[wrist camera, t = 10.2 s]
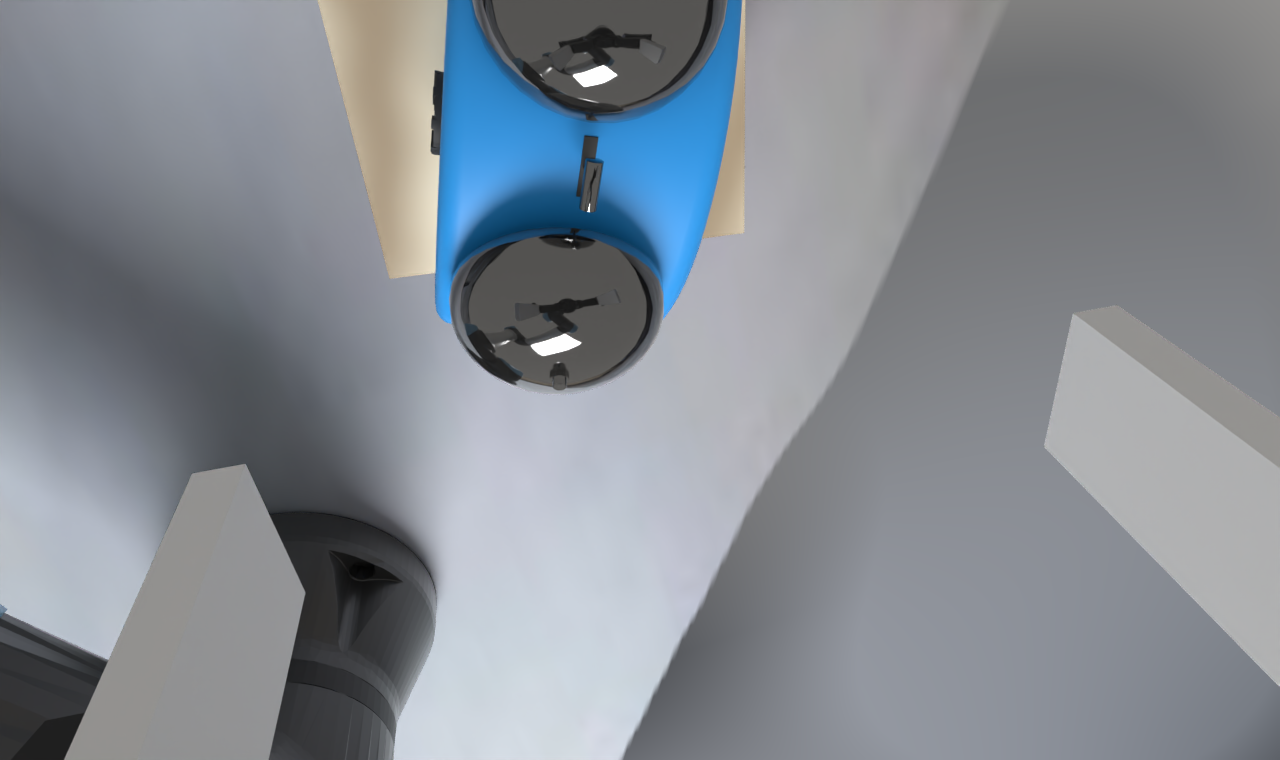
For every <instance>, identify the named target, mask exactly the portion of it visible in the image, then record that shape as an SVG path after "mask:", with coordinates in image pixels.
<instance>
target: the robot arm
mask: <svg viewBox="0 0 1280 760" xmlns="http://www.w3.org/2000/svg"><path fill="white" fill-rule="evenodd" d="M1044 447H1045V448H1046V449H1047V450H1048V451H1049V452H1050V453H1051V454H1052V455H1053V456H1054V457H1055V458H1056V459H1057V460H1058V461H1059V462H1060V463H1061V464H1062V465H1063V466H1064V467H1065V468H1066V469H1067V471H1068V472H1069V473H1070V474H1071V475H1072V476H1074V478H1075V479H1076V480H1077V481H1078V482H1079V483H1080V484H1081V485H1082V486H1084V488H1085V489H1086V490H1087V491H1088V492H1089V493H1090V494H1091V495H1092V496H1093V497H1094V498H1095V499H1096V500H1097V501H1098V502H1099V503H1100V504H1101V505H1102V506H1103V507H1104V508H1105V509H1106V510H1107V511H1108V512H1109V513H1110V514H1111V515H1112V516H1113V517H1114V518H1115V519H1116V521H1117V522H1118V523H1119V524H1121V526H1122V527H1123V528H1124V529H1125V530H1126V531H1127V532H1128V533H1129V534H1130V535H1131V536H1132V537H1133V538H1134V539H1135V540H1136V541H1137V542H1138V543H1139V544H1140V545H1141V546H1142V547H1143V548H1144V549H1145V550H1146V551H1147V552H1148V553H1149V554H1150V555H1151V556H1152V557H1153V558H1154V559H1155V560H1156V561H1157V562H1158V563H1159V564H1160V565H1161V566H1162V567H1163V568H1164V569H1165V570H1166V572H1168V574H1170V575H1171V577H1172V578H1173V579H1174V580H1175V581H1176V582H1177V583H1178V584H1179V585H1180V586H1181V587H1182V588H1183V589H1184V590H1185V591H1186V592H1187V593H1188V594H1189V595H1190V596H1191V597H1192V598H1193V599H1194V600H1195V601H1196V602H1197V603H1198V604H1199V605H1200V606H1201V607H1202V608H1203V609H1204V610H1205V611H1206V612H1207V613H1208V614H1209V615H1210V616H1211V617H1212V618H1213V619H1214V620H1215V621H1216V622H1217V623H1218V625H1219V626H1220V627H1221V628H1222V629H1224V631H1225V632H1226V633H1227V634H1228V635H1230V636H1231V638H1232V639H1233V640H1234V641H1235V642H1236V643H1237V644H1238V645H1239V646H1240V647H1241V648H1242V649H1243V650H1244V651H1245V652H1246V653H1247V654H1248V655H1249V656H1250V657H1251V658H1252V659H1253V660H1254V661H1255V662H1256V663H1257V664H1258V665H1259V666H1260V667H1261V668H1262V669H1263V670H1264V671H1265V672H1266V673H1267V675H1269V677H1270V678H1271V679H1272V680H1273V681H1274V682H1275V683H1276V684H1277V685H1278V686H1279V687H1280V417H1278V416H1277V415H1276V414H1274V413H1273V412H1271V411H1270V410H1268V409H1267V408H1265V407H1264V406H1262V405H1261V404H1260V403H1258V402H1256V401H1255V400H1254V399H1252V398H1251V397H1249V396H1248V395H1246V394H1245V393H1244V392H1242V391H1241V390H1239V389H1238V388H1236V387H1235V386H1233V385H1232V384H1230V383H1229V382H1228V381H1226V380H1225V379H1223V378H1222V377H1220V376H1219V375H1217V374H1216V373H1214V372H1213V371H1212V370H1210V369H1209V368H1207V367H1206V366H1204V365H1203V364H1201V363H1200V362H1198V361H1197V360H1196V359H1194V358H1193V357H1191V356H1190V355H1188V354H1187V353H1185V352H1184V351H1183V350H1181V349H1180V348H1178V347H1177V346H1175V345H1174V344H1172V343H1171V342H1169V341H1168V340H1167V339H1165V338H1164V337H1162V336H1161V335H1159V334H1158V333H1156V332H1155V331H1153V330H1152V329H1151V328H1149V327H1148V326H1146V325H1145V324H1143V323H1142V322H1140V321H1139V320H1137V319H1136V318H1135V317H1133V316H1132V315H1130V314H1129V313H1127V312H1126V311H1124V310H1123V309H1121V308H1120V307H1119V306H1117V305H1115V306H1111V307H1104V308H1099V309H1093V310H1088V311H1082V312H1077V313H1073V316H1072V321H1071V325H1070V330H1069V334H1068V339H1067V344H1066V348H1065V353H1064V358H1063V362H1062V367H1061V371H1060V376H1059V380H1058V385H1057V389H1056V395H1055V399H1054V403H1053V408H1052V413H1051V417H1050V422H1049V426H1048V431H1047V435H1046V441H1045V445H1044ZM6 610H7V608H5V607H4V606H2V605H0V760H393V758H394V743H395V733H396V726H397V721H398V719H399V717H400V714H401V712H402V710H403V708H404V706H405V704H406V702H407V700H408V698H409V696H410V693H411V691H412V689H413V687H414V685H415V683H416V681H417V679H418V677H419V675H420V672H421V670H422V668H423V666H424V664H425V662H426V660H427V657H428V655H429V653H430V650H431V647H432V644H433V640H434V635H435V623H436V592H435V588H434V585H433V582H432V579H431V577H430V575H429V573H428V571H427V570H426V568H425V567H424V565H423V564H422V562H421V561H420V560H419V559H418V558H417V556H416V555H415V554H414V553H413V552H412V551H410V550H409V549H408V548H407V547H406V546H405V545H403V544H402V543H401V542H399V541H398V540H396V539H395V538H393V537H392V536H390V535H388V534H386V533H384V532H383V531H381V530H378V529H376V528H374V527H372V526H369V525H367V524H364V523H361V522H358V521H355V520H351V519H347V518H343V517H338V516H333V515H326V514H318V513H280V514H272V515H269V513H268V511H267V509H266V507H265V504H264V502H263V500H262V498H261V496H260V494H259V492H258V489H257V487H256V485H255V483H254V481H253V479H252V476H251V474H250V472H249V470H248V468H247V466H246V464H241V465H236V466H230V467H225V468H219V469H214V470H208V471H203V472H197V473H192V475H191V477H190V479H189V481H188V484H187V486H186V488H185V490H184V493H183V495H182V497H181V499H180V502H179V504H178V506H177V508H176V511H175V513H174V515H173V517H172V520H171V522H170V524H169V526H168V528H167V531H166V533H165V535H164V537H163V540H162V542H161V544H160V546H159V549H158V551H157V553H156V555H155V558H154V560H153V562H152V564H151V566H150V569H149V571H148V573H147V575H146V578H145V580H144V582H143V584H142V587H141V589H140V591H139V593H138V596H137V598H136V600H135V602H134V605H133V607H132V609H131V611H130V613H129V616H128V618H127V620H126V622H125V625H124V627H123V629H122V631H121V634H120V636H119V638H118V640H117V643H116V645H115V647H114V649H113V651H112V654H111V656H110V658H109V660H107V659H105V658H103V657H100V656H98V655H96V654H94V653H91V652H89V651H87V650H85V649H83V648H80V647H78V646H76V645H74V644H72V643H69V642H67V641H65V640H63V639H61V638H58V637H56V636H54V635H52V634H50V633H47V632H45V631H43V630H41V629H39V628H36V627H34V626H32V625H30V624H28V623H25V622H23V621H21V620H19V619H17V618H14V617H12V616H10V615H8V614H6V613H5V611H6Z"/></svg>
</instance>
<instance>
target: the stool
mask: <svg viewBox="0 0 1280 760" xmlns="http://www.w3.org/2000/svg"><path fill="white" fill-rule="evenodd" d="M447 1H448V0H318V4H319V8H320V11H321V15H322V19H323V23H324V27H325V31H326V35H327V39H328V42H329V46H330V50H331V54H332V58H333V62H334V66H335V69H336V73H337V77H338V81H339V85H340V89H341V93H342V97H343V100H344V104H345V108H346V112H347V116H348V120H349V124H350V127H351V131H352V135H353V139H354V143H355V147H356V151H357V155H358V158H359V162H360V166H361V170H362V174H363V178H364V182H365V185H366V189H367V193H368V197H369V201H370V205H371V209H372V213H373V216H374V220H375V224H376V228H377V232H378V236H379V240H380V243H381V247H382V251H383V255H384V259H385V263H386V267H387V271H388V274H389V278H390V279H392V278H400V277H408V276H415V275H423V274H431V273H435V269H436V235H437V208H438V183H439V160H440V155H433V154H431V134H432V130H433V129H431V119H432V115H433V116H434V112H435V111H434V105H433V86H434V74H435V70H437V71H441V72H444V56H445V37H446V19H447ZM744 150H745V0H742V11H741V27H740V39H739V49H738V60H737V68H736V76H735V85H734V92H733V99H732V106H731V112H730V119H729V125H728V130H727V136H726V142H725V147H724V152H723V157H722V162H721V167H720V171H719V176H718V181H717V185H716V189H715V193H714V197H713V201H712V205H711V209H710V212H709V216H708V220H707V223H706V227H705V230H704V233H703V236H702V238H709V237H717V236H725V235H732V234H740V233H744Z"/></svg>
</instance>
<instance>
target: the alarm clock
mask: <svg viewBox="0 0 1280 760" xmlns="http://www.w3.org/2000/svg"><path fill="white" fill-rule="evenodd" d="M741 11H742V0H448V1H447V19H446V37H445V56H444V72H441V71H437V70H435V74H434V86H433V105H434V111H435V112H434V116H433V115H432V119H431V129H433V130H432V134H431V154H433V155H440V160H439V183H438V208H437V235H436V269H435V304H436V311H437V313H438V315H439V316H440V318H441V319H443V320H444V321H445V322H447V323H451V324H452V326H453V328H454V331H455V333H456V335H457V338H458V340H459V342H460V344H461V346H462V348H463V349H464V350H465V351H466V352H467V354H468V355H469V356H470V357H471V358H472V360H473V361H474V362H475V363H476V364H477V365H478V366H479V367H480V368H481V369H483V370H484V371H486V372H487V373H488V374H490V375H491V376H493V377H494V378H496V379H497V380H499V381H501V382H503V383H505V384H507V385H509V386H512V387H515V388H518V389H521V390H525V391H529V392H534V393H539V394H548V395H566V394H575V393H581V392H585V391H589V390H592V389H595V388H599V387H602V386H604V385H607V384H609V383H611V382H614V381H615V380H617V379H618V378H620V377H622V376H623V375H624V374H626V373H627V372H629V371H630V370H631V369H633V368H634V367H635V366H636V365H637V364H638V363H639V362H640V361H641V360H642V359H643V358H644V356H645V355H646V354H647V353H648V351H649V350H650V348H651V347H652V345H653V344H654V342H655V341H656V338H657V336H658V333H659V330H660V328H661V324H662V320H663V319H664V317H665V316H666V315H667V313H668V312H669V311H670V309H671V308H672V306H673V305H674V303H675V301H676V300H677V298H678V296H679V294H680V292H681V290H682V288H683V286H684V284H685V282H686V280H687V277H688V275H689V273H690V270H691V268H692V265H693V263H694V260H695V257H696V254H697V252H698V249H699V246H700V243H701V240H702V236H703V233H704V230H705V227H706V223H707V220H708V216H709V212H710V209H711V205H712V201H713V197H714V193H715V189H716V185H717V181H718V176H719V171H720V167H721V162H722V157H723V152H724V147H725V142H726V136H727V130H728V125H729V119H730V112H731V106H732V99H733V92H734V85H735V76H736V68H737V60H738V49H739V39H740V27H741Z"/></svg>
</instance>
